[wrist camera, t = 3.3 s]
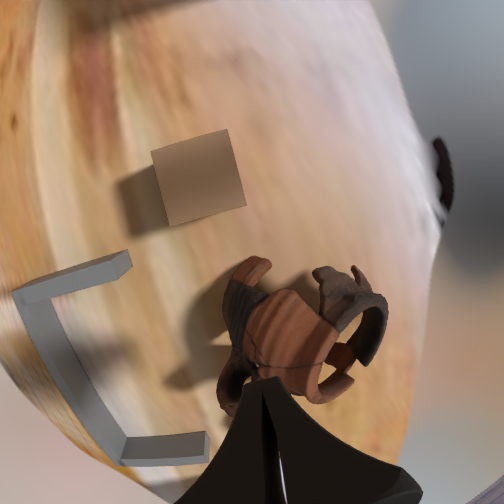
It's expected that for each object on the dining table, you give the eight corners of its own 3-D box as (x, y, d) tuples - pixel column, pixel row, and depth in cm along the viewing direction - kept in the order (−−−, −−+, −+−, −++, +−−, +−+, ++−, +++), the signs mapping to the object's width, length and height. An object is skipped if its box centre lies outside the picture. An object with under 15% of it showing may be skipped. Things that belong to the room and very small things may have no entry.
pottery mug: (269, 210, 19) (377, 245, 13) (326, 280, 25) (406, 319, 18) (157, 355, 17) (218, 452, 11) (242, 389, 23) (305, 453, 17)
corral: (209, 438, 22) (208, 462, 19) (123, 445, 22) (116, 466, 19) (127, 249, 18) (110, 260, 15) (32, 279, 18) (11, 292, 15)
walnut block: (243, 202, 18) (247, 205, 14) (182, 218, 18) (170, 226, 14) (227, 141, 17) (227, 129, 13) (166, 158, 17) (150, 151, 13)
